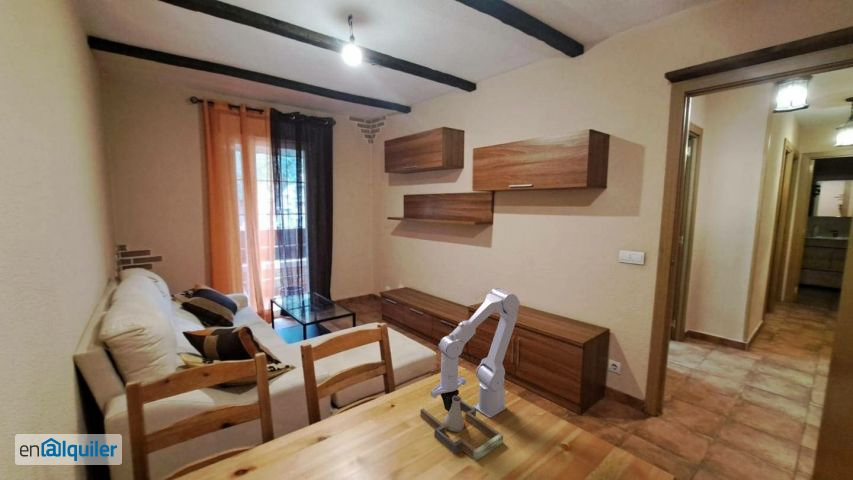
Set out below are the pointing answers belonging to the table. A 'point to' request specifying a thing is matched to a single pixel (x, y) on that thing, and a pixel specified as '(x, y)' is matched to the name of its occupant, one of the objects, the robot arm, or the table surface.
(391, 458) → the table surface
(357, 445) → the table surface
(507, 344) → the robot arm
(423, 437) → the table surface
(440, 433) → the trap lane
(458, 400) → the flask
